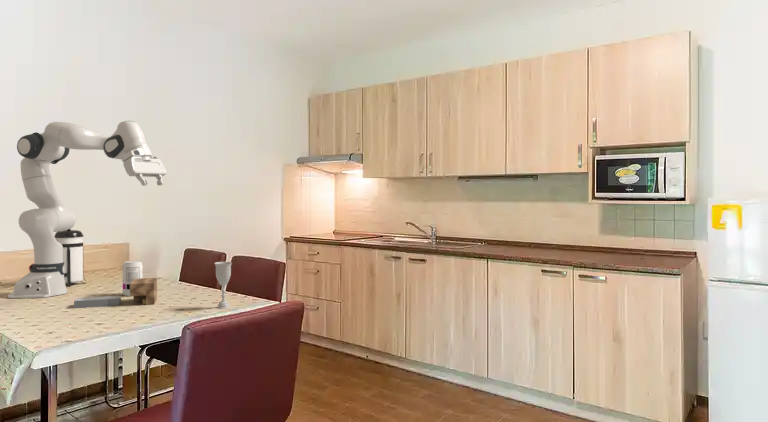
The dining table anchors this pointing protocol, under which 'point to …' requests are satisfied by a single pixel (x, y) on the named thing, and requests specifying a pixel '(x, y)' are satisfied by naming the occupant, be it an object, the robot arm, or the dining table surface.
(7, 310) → the dining table surface
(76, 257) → the coffee press
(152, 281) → the shelf block
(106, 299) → the board
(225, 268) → the chalice
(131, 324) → the dining table surface
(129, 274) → the supplement can
